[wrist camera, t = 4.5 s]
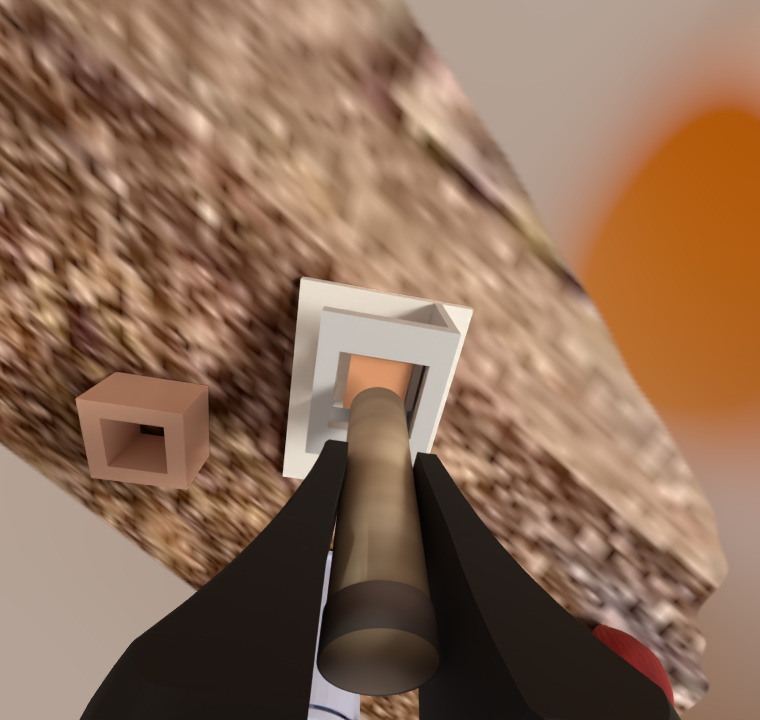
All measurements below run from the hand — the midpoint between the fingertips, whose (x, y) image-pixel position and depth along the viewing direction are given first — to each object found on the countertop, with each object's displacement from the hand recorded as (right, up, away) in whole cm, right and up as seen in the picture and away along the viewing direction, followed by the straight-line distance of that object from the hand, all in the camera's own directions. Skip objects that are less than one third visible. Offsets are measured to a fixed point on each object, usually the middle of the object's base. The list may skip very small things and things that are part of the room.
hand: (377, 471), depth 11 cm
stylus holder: (-13, 0, +10) cm, 17 cm away
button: (0, +3, +7) cm, 8 cm away
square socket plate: (-1, +1, +10) cm, 10 cm away
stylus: (0, +1, +3) cm, 3 cm away
